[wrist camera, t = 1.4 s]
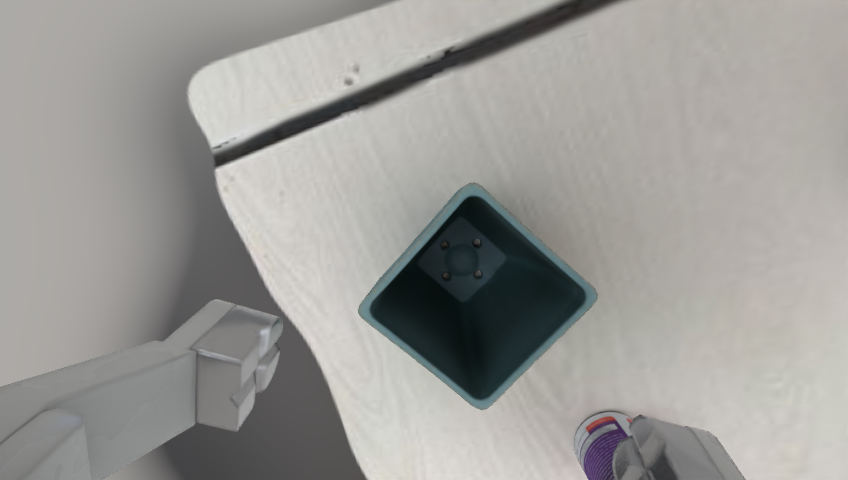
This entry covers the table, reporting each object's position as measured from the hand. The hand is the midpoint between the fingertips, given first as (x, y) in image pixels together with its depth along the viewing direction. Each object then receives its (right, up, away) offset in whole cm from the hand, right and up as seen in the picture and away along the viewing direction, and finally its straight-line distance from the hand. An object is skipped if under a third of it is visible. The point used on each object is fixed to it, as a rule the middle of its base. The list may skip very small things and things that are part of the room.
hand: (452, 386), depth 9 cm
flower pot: (+2, +2, +20) cm, 20 cm away
